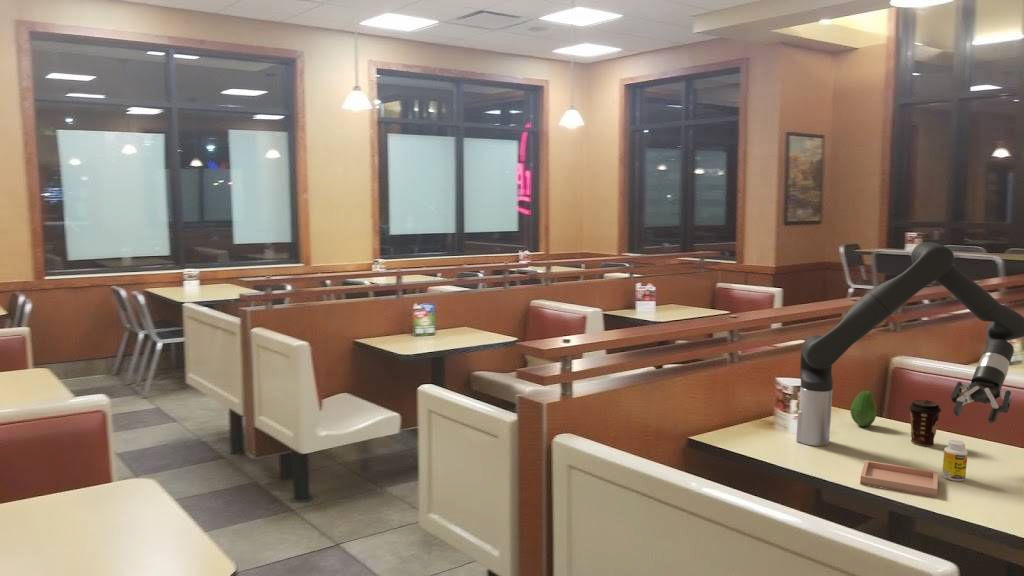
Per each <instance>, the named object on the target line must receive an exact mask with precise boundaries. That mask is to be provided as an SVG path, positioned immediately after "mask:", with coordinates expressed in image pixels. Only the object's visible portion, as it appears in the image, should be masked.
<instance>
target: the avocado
mask: <svg viewBox="0 0 1024 576" xmlns="http://www.w3.org/2000/svg"><path fill="white" fill-rule="evenodd" d="M877 410H878V409H877V406H876V402H875V399H874V395H873V394H872V393H871V391H868V390H862V391H860V392H859V393H857V395H856V396H855V398H854V399H853V402H852V404H851V406H850V416H851V419H852V421H854V423H855V424H856V425H858V426H860V427H864V426H865V427H868V426H871V425H872V424H873V423H874V422H875V421H876V418H877V413H878V412H877Z"/></svg>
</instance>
